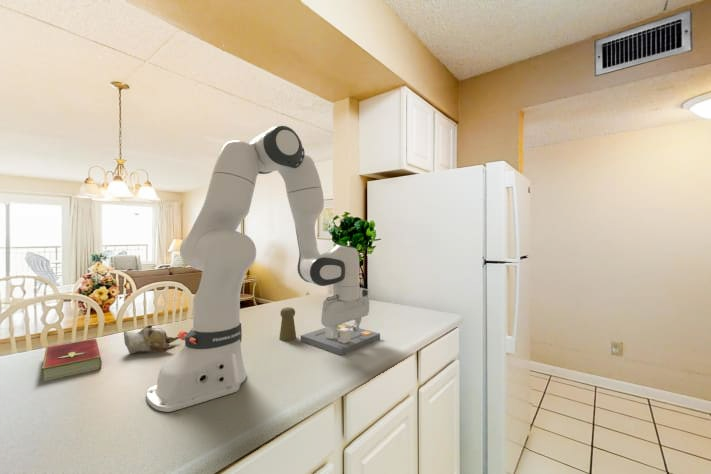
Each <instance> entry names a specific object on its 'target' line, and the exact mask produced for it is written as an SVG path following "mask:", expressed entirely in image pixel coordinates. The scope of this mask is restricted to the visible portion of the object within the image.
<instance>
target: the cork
mask: <svg viewBox="0 0 711 474" xmlns="http://www.w3.org/2000/svg"><path fill="white" fill-rule="evenodd" d="M279 314H280V317H281V323H280V331H279V340H280V341H283V342H291V341H294V340H296V339H297V333H296V326H295V318H294V317H295V315H296V310H295V308H294V307H284V308H281V310H280V313H279Z"/></svg>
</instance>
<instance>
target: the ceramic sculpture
mask: <svg viewBox="0 0 711 474" xmlns="http://www.w3.org/2000/svg"><path fill="white" fill-rule="evenodd" d="M123 336H124V337H123V339H124V341H123V342H124V345H125V346H126V348H127V351H128V353H129V354H130V355H134V354H135V353H137V352H148V353H153V352H154V353H155V352H159V353H162V352H166V351H169V350H171V349H174V347H175V346H174V345H171V343H173V342H175V341H177V340H179V338H178V336H175V337H171V336H168V335H167V332H166V331H165V330H164V329H163V328H160V327H157V328H156V327H155V328H153V326H152V325H148V326H145V327H143V328H141V330H140V331H138V332H135V331H127V330H125V331H123Z"/></svg>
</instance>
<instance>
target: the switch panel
mask: <svg viewBox="0 0 711 474" xmlns="http://www.w3.org/2000/svg"><path fill="white" fill-rule="evenodd" d="M352 326H353V325H348V324H346V323H342V324H339V325H338V329H341V328H344V327H345V328H348V329H351V341H350V342H347V343H345V344H344V343H341V342H338V338H337V339H336V338H334V339H329V338H325V327H324V328H320V329H317V330H314V331H310V332H308V333H304V334H302V335H300V342H302V343H304V344H307V345H311V346H313V347H315V348H319V349H322V350H325V351H328V352H330V353H333V354H336V355H340V356H345V355H347V354H349V353H351V352H354V351H355V350H358V349H360V348H363V347H365V346H367V345H370V344H372V343H375V342H377V341H379V340H381V333H379V332H375V331H372V330H367V329H363V328H360V327H359V330H358V331H356V332H355V331H353V330H352V329H353V328H352Z"/></svg>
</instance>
